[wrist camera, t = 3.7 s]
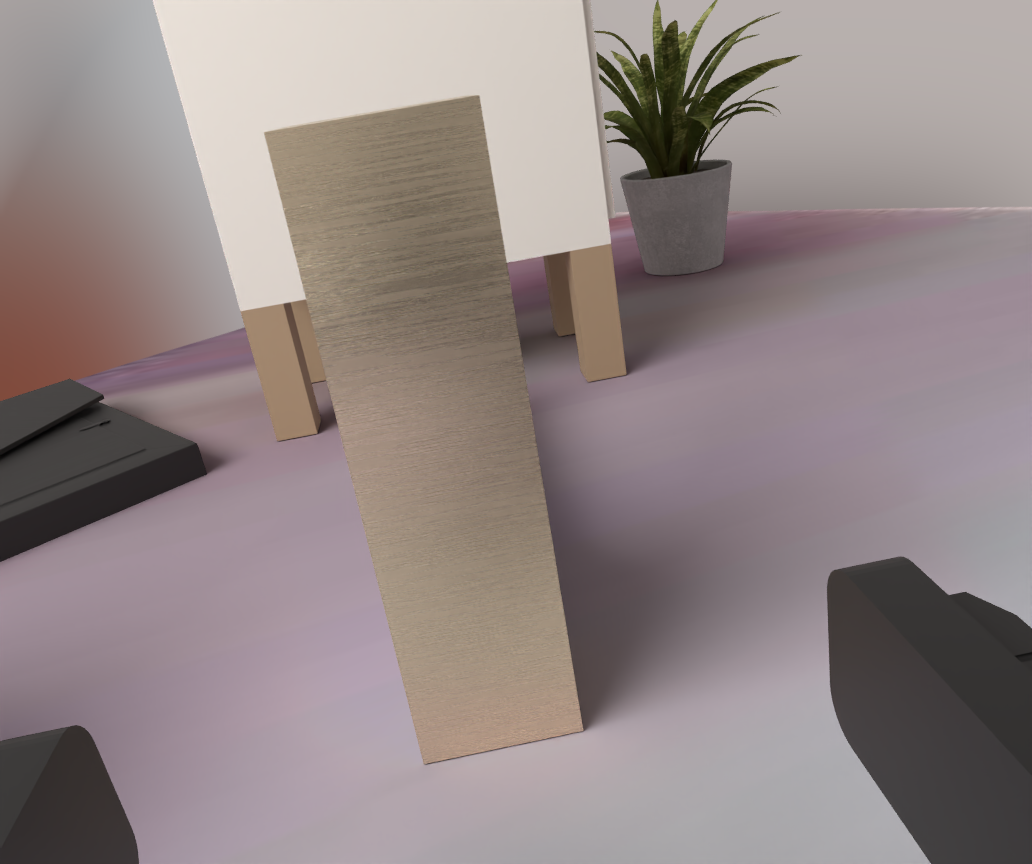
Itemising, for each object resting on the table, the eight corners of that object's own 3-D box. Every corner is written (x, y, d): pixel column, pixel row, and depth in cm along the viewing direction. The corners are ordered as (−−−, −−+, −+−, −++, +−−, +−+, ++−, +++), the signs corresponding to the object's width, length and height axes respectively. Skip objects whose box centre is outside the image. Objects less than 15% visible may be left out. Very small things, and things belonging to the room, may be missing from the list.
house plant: (658, 312, 49) (625, -12, 43) (528, 286, 60) (488, 27, 54) (835, 253, 55) (828, -38, 49) (687, 239, 66) (666, 2, 60)
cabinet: (603, 316, 50) (551, -106, 42) (655, 373, 39) (598, -173, 32) (292, 374, 49) (180, -46, 41) (261, 448, 39) (103, -95, 31)
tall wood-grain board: (496, 419, 37) (439, 96, 32) (583, 731, 19) (479, 95, 14) (415, 435, 37) (345, 112, 32) (423, 764, 19) (264, 131, 14)
